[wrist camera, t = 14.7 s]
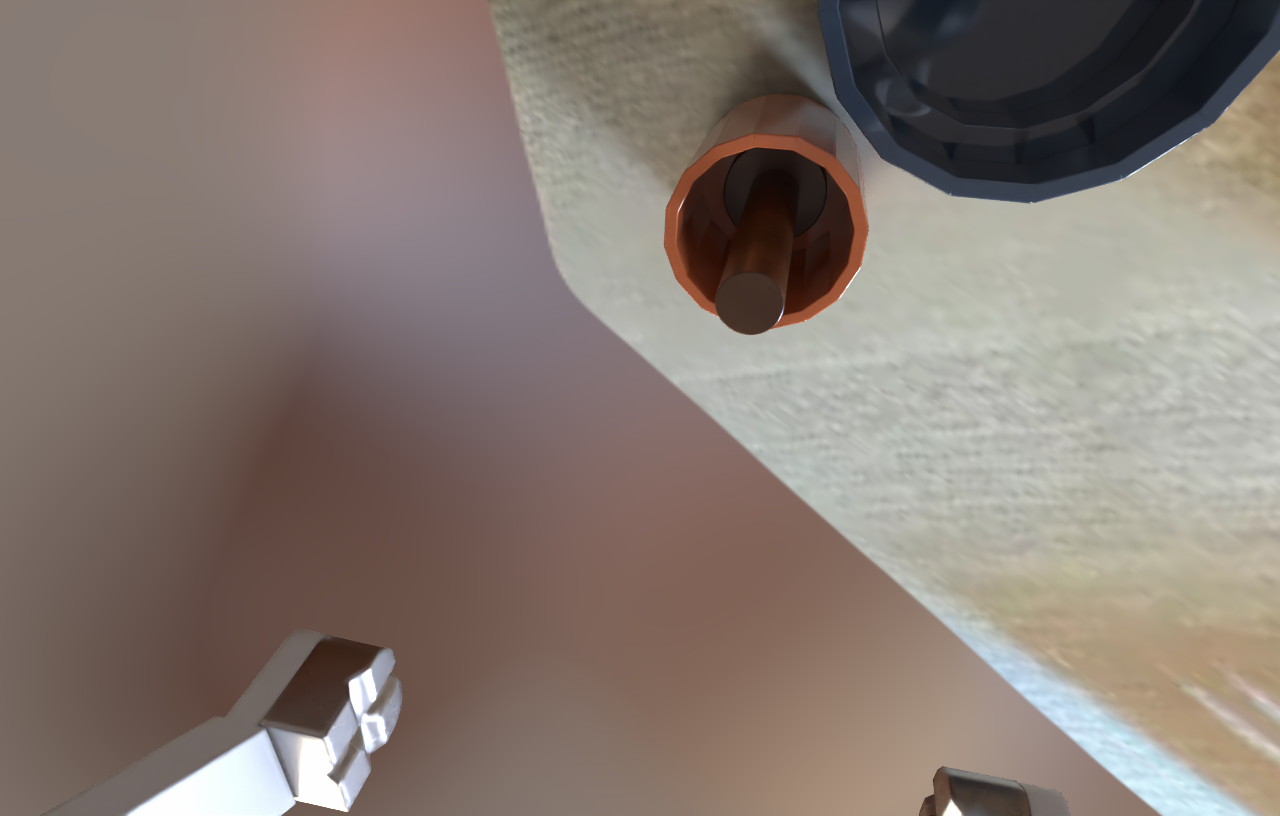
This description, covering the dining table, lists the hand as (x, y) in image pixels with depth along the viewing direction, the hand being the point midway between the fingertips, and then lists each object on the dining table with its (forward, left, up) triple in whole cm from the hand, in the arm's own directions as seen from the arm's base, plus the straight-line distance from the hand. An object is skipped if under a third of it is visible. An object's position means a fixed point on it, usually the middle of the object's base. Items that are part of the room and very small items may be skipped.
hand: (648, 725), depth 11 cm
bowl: (-9, +8, -29) cm, 32 cm away
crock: (0, 0, -29) cm, 29 cm away
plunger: (0, 0, -28) cm, 28 cm away
